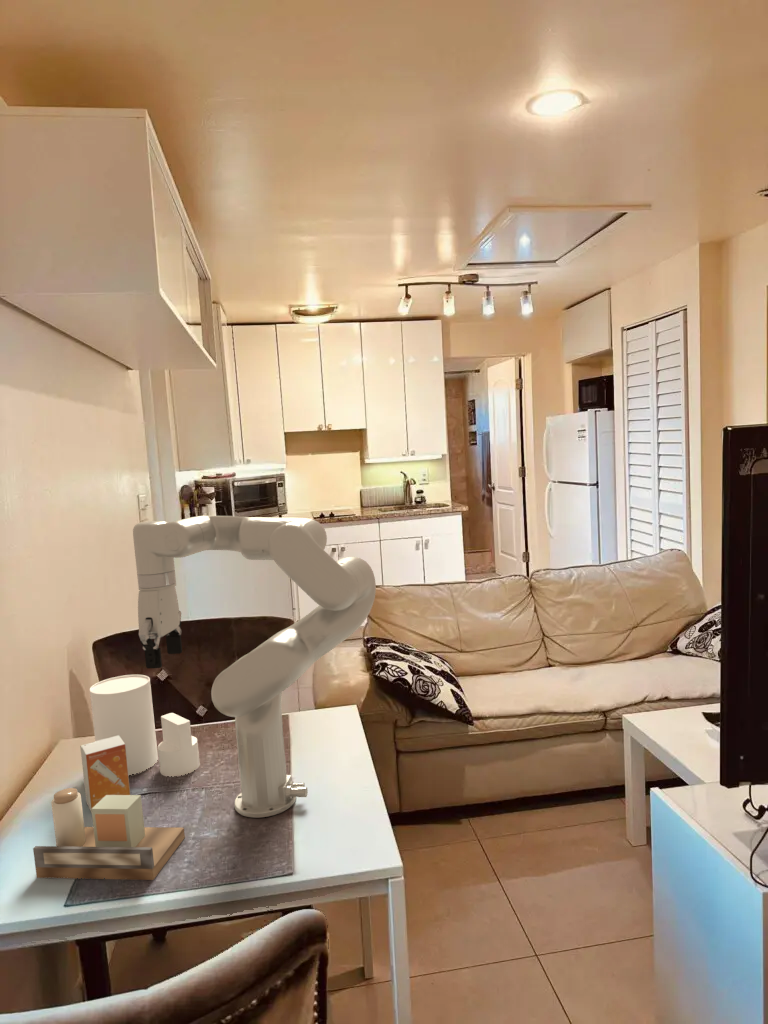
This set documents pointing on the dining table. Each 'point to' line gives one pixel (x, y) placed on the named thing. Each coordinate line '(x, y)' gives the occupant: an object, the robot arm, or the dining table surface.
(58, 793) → the jar
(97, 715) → the canister
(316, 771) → the dining table surface
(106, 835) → the carton
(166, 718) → the base with upright slab
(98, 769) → the small box
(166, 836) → the shelf
